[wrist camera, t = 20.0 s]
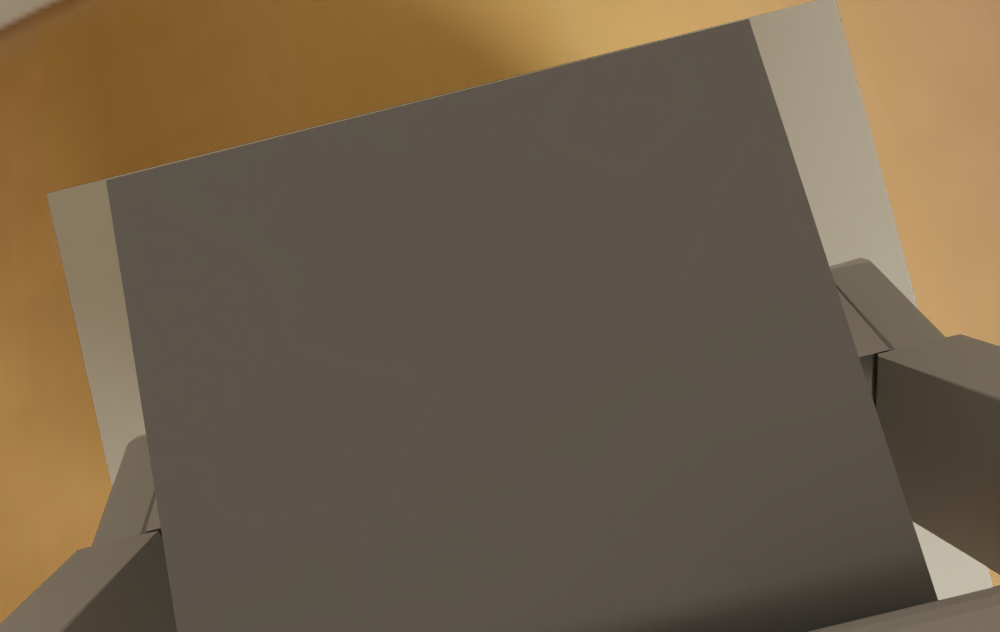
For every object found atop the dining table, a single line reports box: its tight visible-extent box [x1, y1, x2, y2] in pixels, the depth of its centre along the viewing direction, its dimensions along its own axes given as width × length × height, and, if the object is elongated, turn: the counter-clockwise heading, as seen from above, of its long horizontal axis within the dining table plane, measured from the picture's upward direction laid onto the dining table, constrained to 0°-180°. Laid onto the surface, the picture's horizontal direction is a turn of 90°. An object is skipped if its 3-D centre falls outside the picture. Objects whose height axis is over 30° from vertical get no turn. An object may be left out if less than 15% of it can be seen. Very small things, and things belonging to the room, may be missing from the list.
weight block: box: [106, 19, 938, 632], centre depth 10 cm, size 5×5×8 cm
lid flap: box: [47, 0, 993, 600], centre depth 15 cm, size 14×12×1 cm
